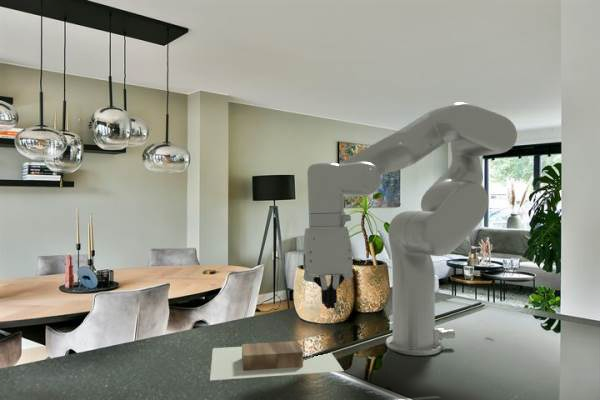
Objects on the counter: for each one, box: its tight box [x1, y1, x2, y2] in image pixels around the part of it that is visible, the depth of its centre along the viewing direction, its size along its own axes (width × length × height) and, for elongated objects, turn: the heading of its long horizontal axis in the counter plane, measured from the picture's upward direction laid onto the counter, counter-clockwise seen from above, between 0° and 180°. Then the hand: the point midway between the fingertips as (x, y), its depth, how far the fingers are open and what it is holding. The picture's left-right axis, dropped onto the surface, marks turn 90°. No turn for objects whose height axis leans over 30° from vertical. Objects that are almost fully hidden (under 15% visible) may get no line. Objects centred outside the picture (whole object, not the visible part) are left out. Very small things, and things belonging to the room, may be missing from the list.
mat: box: [209, 346, 345, 382], centre depth 92 cm, size 26×18×1 cm
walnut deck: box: [241, 340, 303, 371], centre depth 90 cm, size 3×7×12 cm
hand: (329, 306), depth 93 cm, fingers closed
